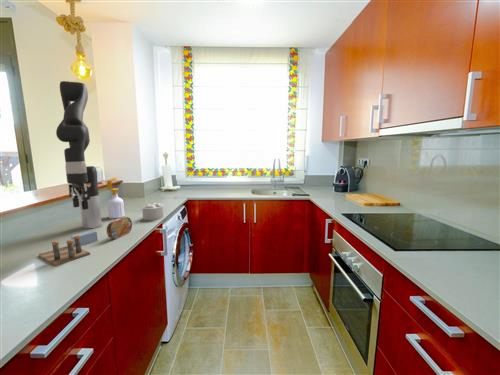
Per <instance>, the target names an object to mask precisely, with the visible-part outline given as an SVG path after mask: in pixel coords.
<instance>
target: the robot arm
mask: <svg viewBox="0 0 500 375" xmlns="http://www.w3.org/2000/svg"><path fill="white" fill-rule="evenodd" d="M59 93H60V97H61V103H62V106H63V112H64V113H63V119H62V120H61V121H60V123H59V124H58V126H57V128H56V130H55V133H56V135H55V136H56V138H57V139H58V140H59V141H60V142H63V143H68V145H69V147H67V148H65V149H64V151H63V153H64V154H63V155H64V161H65V174H66V182H67V183H68V194H69V198H70V199H71V200H72V205H73V206H72V207H73V208H79V210H80V215H81V216H80V218H81V225H82V228H83V229H87V230H88V229H94V228H98V227H101V226H103V222H102V221H103V220H102V211H101V210H102V209H101V203H100V201H101V200H100V194H99V193H100V192H99V184H98V182H99V181H98V170H97V168H96V167H95V166H93V165H89V166H87V164H86V159H85V151H86V150H87V148H88V146H89V145H90V141H91V140H90V133H89V128H88V127H87V124H85V122H84V121H83V119H84V111H85V109H86V106H87V102H88V98H89V92H88V87H87V85H86V84H85V83H83V82H80V81H79V82H77V81H68V80H67V81H66V80H61V81H60V83H59ZM71 102H72V103H71ZM85 184H86V185H85ZM87 184H90V185H87Z"/></svg>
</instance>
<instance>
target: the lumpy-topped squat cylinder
mask: <svg viewBox="0 0 500 375" xmlns="http://www.w3.org/2000/svg"><path fill="white" fill-rule="evenodd" d="M141 211H142V220H143V221H151V222H152V221H153V222H154V221H157V220H160V219H162V218H164V217H165V214H164V204H162V203H159V202H158V203H157V202H154V203H152V204H151V203H147V204H145V206H143V207H141Z"/></svg>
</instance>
